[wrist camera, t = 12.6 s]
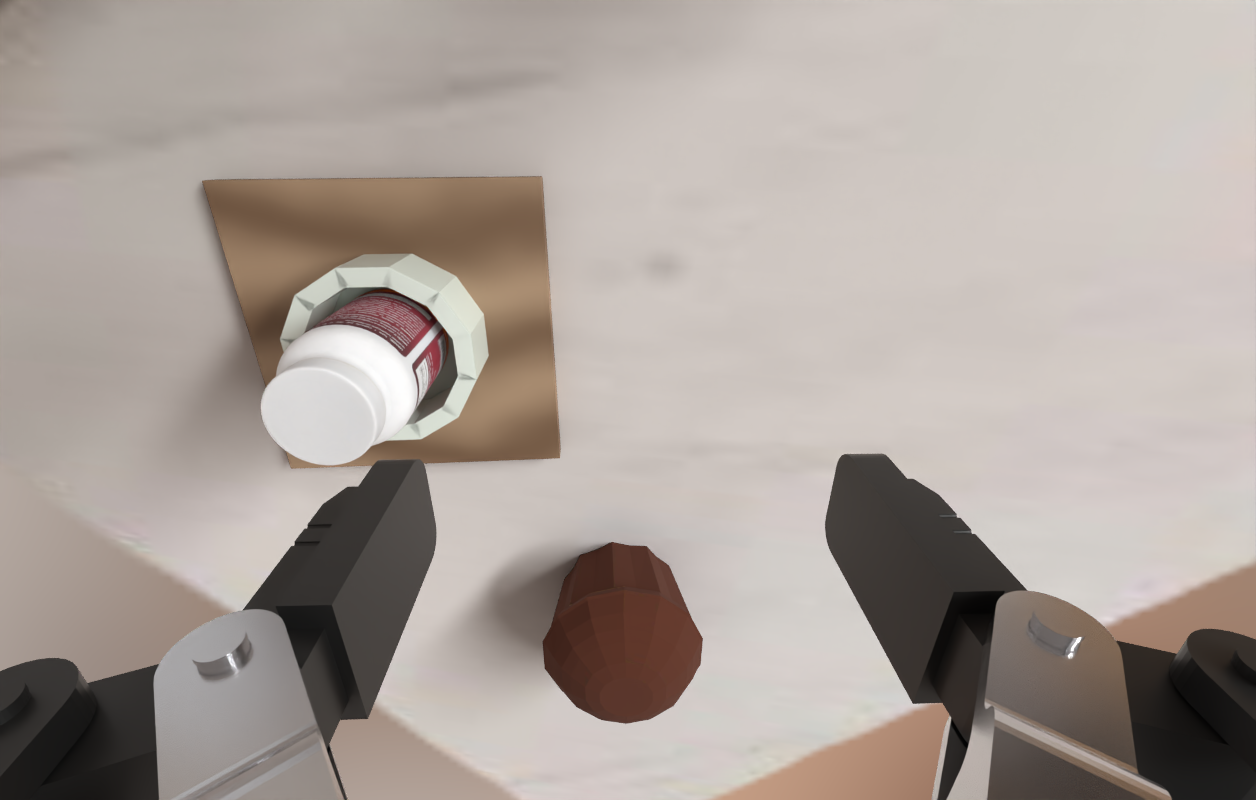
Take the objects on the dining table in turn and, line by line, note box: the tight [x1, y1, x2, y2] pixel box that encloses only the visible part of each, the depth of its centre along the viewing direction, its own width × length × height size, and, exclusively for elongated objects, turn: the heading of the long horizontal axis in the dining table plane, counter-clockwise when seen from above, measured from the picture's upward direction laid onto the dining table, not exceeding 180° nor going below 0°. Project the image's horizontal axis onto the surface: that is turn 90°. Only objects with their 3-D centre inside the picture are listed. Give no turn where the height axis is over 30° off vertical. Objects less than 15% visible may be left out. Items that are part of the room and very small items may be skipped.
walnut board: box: [202, 176, 561, 469], centre depth 34 cm, size 18×18×1 cm
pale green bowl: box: [280, 254, 489, 441], centre depth 32 cm, size 10×10×4 cm
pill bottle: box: [261, 288, 449, 465], centre depth 28 cm, size 6×6×11 cm
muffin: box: [543, 542, 703, 723], centre depth 40 cm, size 12×11×10 cm
